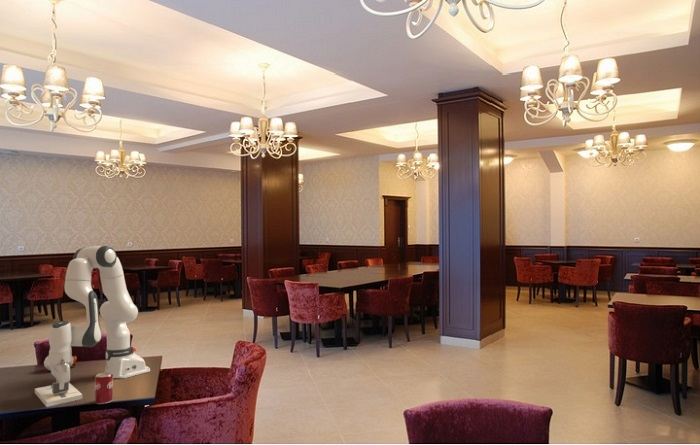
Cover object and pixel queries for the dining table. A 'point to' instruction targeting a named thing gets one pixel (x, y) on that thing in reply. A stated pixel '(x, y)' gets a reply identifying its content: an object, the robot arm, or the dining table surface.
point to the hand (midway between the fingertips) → (60, 388)
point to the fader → (57, 391)
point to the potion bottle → (71, 363)
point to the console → (51, 399)
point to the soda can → (103, 388)
